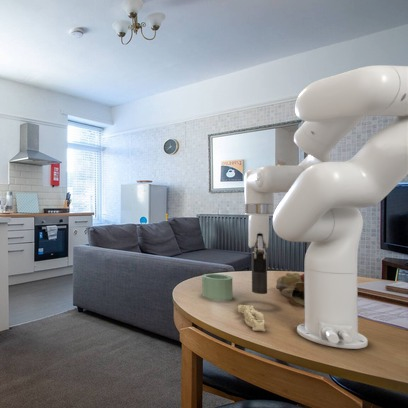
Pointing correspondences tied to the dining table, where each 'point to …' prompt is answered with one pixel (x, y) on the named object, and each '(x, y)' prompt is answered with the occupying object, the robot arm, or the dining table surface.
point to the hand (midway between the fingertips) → (259, 270)
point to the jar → (217, 286)
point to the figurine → (292, 287)
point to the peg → (259, 279)
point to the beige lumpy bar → (252, 317)
